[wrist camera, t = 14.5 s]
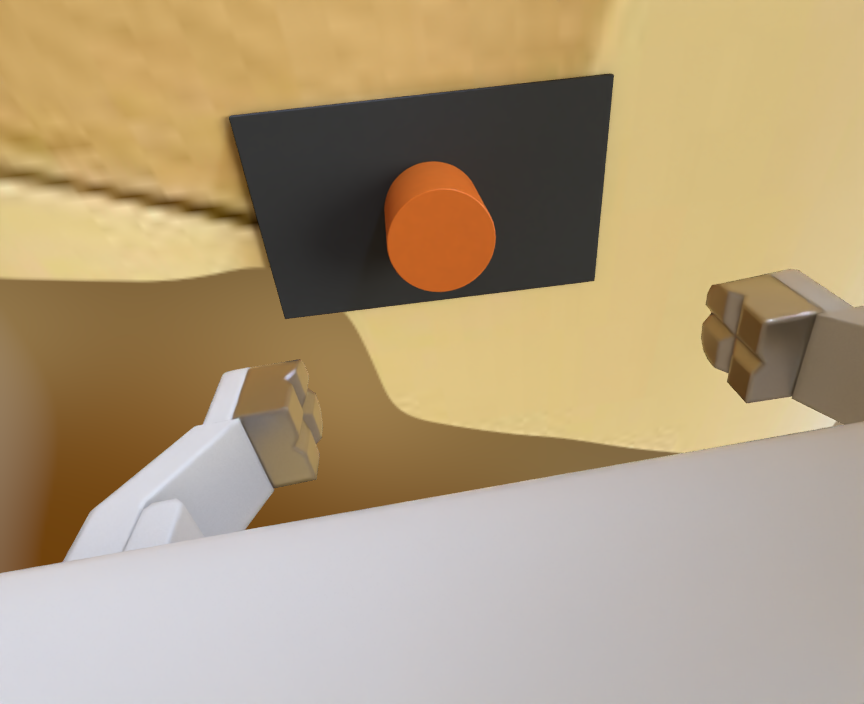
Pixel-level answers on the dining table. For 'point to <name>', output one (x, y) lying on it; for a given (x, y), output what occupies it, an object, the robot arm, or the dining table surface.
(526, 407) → the dining table surface
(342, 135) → the mat
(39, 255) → the dining table surface
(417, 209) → the cylinder
